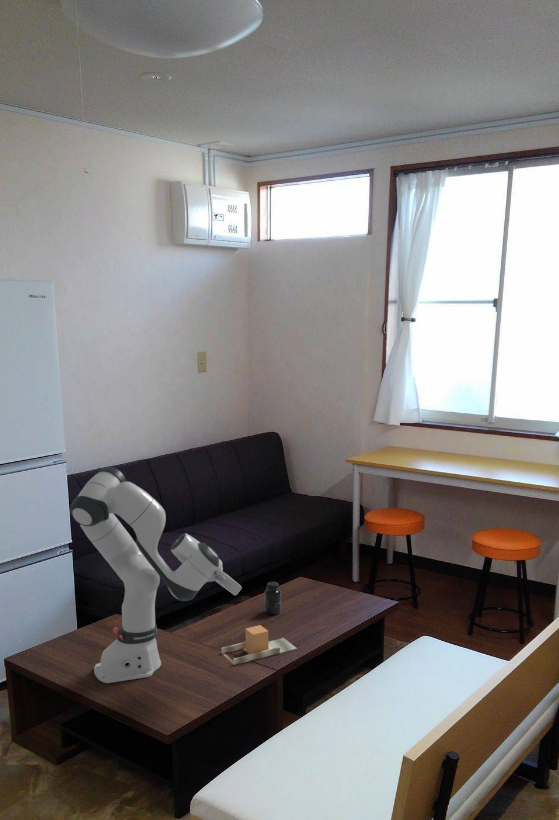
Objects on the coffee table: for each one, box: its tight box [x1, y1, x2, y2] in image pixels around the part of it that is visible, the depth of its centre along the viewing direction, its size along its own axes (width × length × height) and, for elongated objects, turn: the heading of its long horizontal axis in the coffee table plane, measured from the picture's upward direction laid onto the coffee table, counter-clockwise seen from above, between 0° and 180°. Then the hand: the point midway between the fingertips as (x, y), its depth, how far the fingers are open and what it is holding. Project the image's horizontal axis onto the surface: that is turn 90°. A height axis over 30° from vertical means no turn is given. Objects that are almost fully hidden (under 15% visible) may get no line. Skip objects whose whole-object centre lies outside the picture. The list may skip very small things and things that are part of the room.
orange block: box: [245, 624, 269, 654], centre depth 249 cm, size 6×6×8 cm
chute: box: [221, 637, 298, 666], centre depth 250 cm, size 25×10×4 cm, turn 119°
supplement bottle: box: [264, 581, 282, 616], centre depth 288 cm, size 7×7×12 cm
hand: (236, 590), depth 243 cm, fingers closed
